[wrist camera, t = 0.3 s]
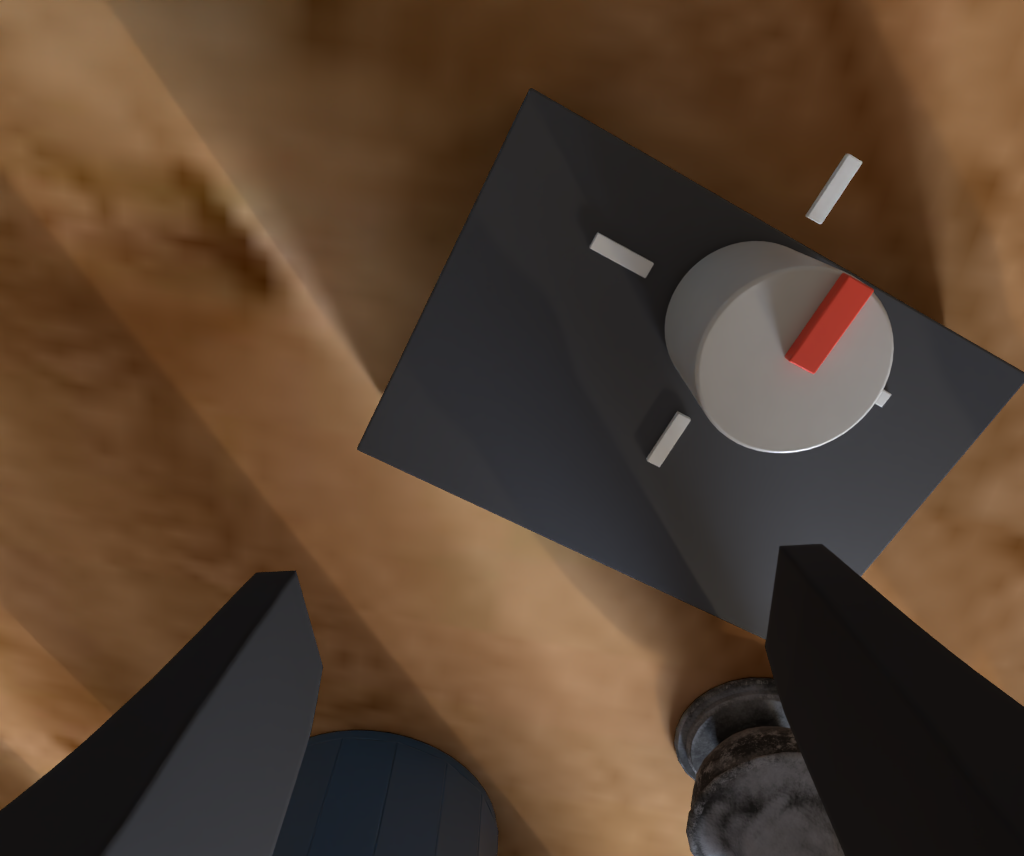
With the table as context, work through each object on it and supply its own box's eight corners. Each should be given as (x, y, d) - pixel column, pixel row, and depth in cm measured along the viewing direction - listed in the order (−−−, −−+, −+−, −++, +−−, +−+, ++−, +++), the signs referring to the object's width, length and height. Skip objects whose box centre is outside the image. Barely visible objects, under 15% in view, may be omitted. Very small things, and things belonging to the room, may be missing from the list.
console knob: (764, 423, 17) (821, 492, 14) (633, 355, 16) (660, 409, 13) (860, 289, 16) (947, 328, 12) (722, 209, 15) (776, 230, 12)
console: (757, 580, 23) (798, 658, 19) (382, 400, 21) (354, 452, 17) (995, 274, 19) (1097, 305, 16) (567, 17, 17) (577, -13, 14)
